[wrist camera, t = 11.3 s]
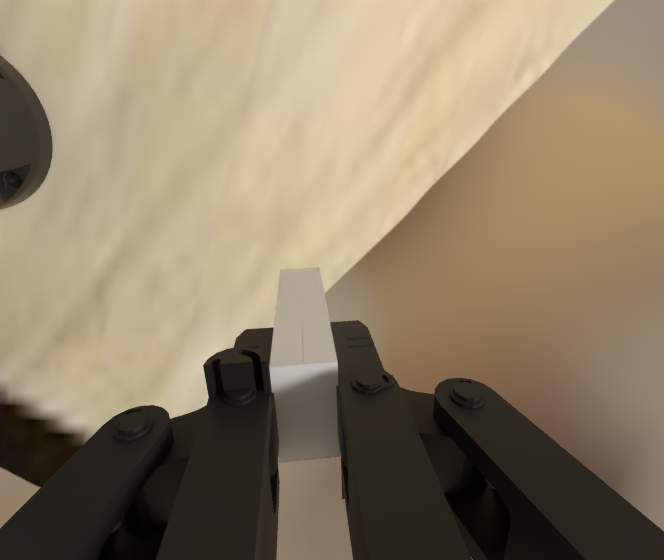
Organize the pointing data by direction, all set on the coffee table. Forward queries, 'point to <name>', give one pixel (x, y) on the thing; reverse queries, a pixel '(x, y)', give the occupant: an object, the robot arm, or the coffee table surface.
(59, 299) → the coffee table surface
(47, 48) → the coffee table surface
